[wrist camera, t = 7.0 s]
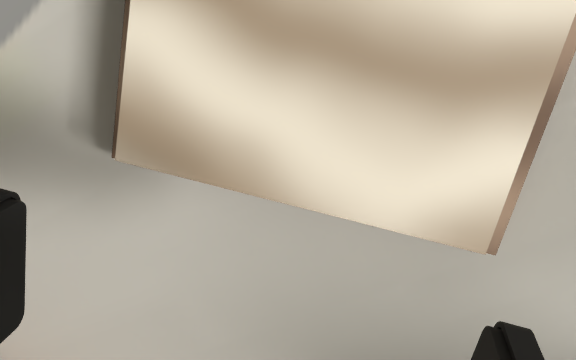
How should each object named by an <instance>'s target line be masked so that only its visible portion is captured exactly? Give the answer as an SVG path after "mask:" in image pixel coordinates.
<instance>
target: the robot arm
mask: <svg viewBox="0 0 576 360" xmlns="http://www.w3.org/2000/svg"><path fill="white" fill-rule="evenodd" d="M25 256H26V205H25V203H23V202H21V200H20V197H19V195H18V194H17V193H15V192H11V191H8V190H4V189H0V343H1V342H3V341H4V340H5V339H6V338H7V337H8V336H9V335H10V334H11V333H12V332H13V331H14V330H15V329H16V328H17V327H18V326H19V324H20V323H21V320H22V318H23V315H24V306H25ZM471 360H544V357H543V355H542V353H541V350H540V348H539V346H538V343H537V341H536V338H535V336H534V334H533V332H532V331H531V330H530V329H527V328H524V327H520V326H516V325H512V324H509V323H505V322H501V321H499V322H497V323H496V325H495V326H494V327H490V326H486V327H485V328H484V329H483V331H482V334H481V336H480V339H479V341H478V343H477V346H476V348H475V351H474V353H473V356H472V358H471Z"/></svg>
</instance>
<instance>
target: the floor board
mask: <svg viewBox="0 0 576 360" xmlns="http://www.w3.org/2000/svg"><path fill="white" fill-rule="evenodd" d="M129 11H130V0H125V10H124V21H123V33H122V44H121V56H120V67H119V79H118V91H117V102H116V114H115V125H114V137H113V148H112V158H115V154H116V143H117V133H118V123H119V113H120V103H121V92H122V82H123V72H124V62H125V51H126V41H127V31H128V21H129ZM575 51H576V14H575V17H574V20H573V22H572V25H571V28H570V30H569V33H568V36H567V38H566V41H565V44H564V46H563V49H562V52H561V54H560V57H559V60H558V62H557V65H556V68H555V70H554V73H553V76H552V78H551V81H550V84H549V86H548V89H547V92H546V94H545V97H544V100H543V102H542V105H541V108H540V110H539V113H538V116H537V118H536V121H535V124H534V126H533V129H532V132H531V134H530V137H529V140H528V142H527V145H526V148H525V150H524V153H523V156H522V158H521V161H520V164H519V166H518V169H517V172H516V174H515V177H514V180H513V182H512V185H511V188H510V190H509V193H508V196H507V198H506V201H505V204H504V206H503V209H502V212H501V215H500V217H499V220H498V223H497V225H496V228H495V231H494V233H493V236H492V239H491V241H490V244H489V247H488V249H487V252H486V253H488V254H492V255H496V253H497V251H498V248H499V245H500V243H501V240H502V238H503V235H504V233H505V230H506V228H507V225H508V222H509V220H510V217H511V215H512V212H513V210H514V207H515V204H516V202H517V199H518V197H519V194H520V192H521V189H522V187H523V184H524V181H525V179H526V176H527V174H528V171H529V169H530V166H531V163H532V161H533V158H534V156H535V153H536V151H537V148H538V146H539V143H540V140H541V138H542V135H543V133H544V130H545V128H546V125H547V122H548V120H549V117H550V115H551V112H552V110H553V107H554V104H555V102H556V99H557V97H558V94H559V92H560V89H561V87H562V84H563V81H564V79H565V76H566V74H567V71H568V69H569V66H570V63H571V61H572V58H573V56H574V53H575Z"/></svg>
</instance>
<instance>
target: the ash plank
mask: <svg viewBox="0 0 576 360" xmlns="http://www.w3.org/2000/svg"><path fill="white" fill-rule="evenodd" d="M575 14H576V0H130V11H129V21H128V31H127V41H126V51H125V62H124V72H123V82H122V92H121V103H120V113H119V123H118V133H117V143H116V154H115V160H116V161H120V162H123V163H127V164H131V165H135V166H139V167H143V168H147V169H151V170H155V171H159V172H163V173H167V174H171V175H175V176H178V177H182V178H186V179H190V180H194V181H198V182H202V183H206V184H210V185H214V186H218V187H222V188H226V189H230V190H233V191H237V192H241V193H245V194H249V195H253V196H257V197H261V198H265V199H269V200H273V201H277V202H281V203H284V204H288V205H292V206H296V207H300V208H304V209H308V210H312V211H316V212H320V213H324V214H328V215H332V216H336V217H339V218H343V219H347V220H351V221H355V222H359V223H363V224H367V225H371V226H375V227H379V228H383V229H387V230H391V231H394V232H398V233H402V234H406V235H410V236H414V237H418V238H422V239H426V240H430V241H434V242H438V243H442V244H446V245H449V246H453V247H457V248H461V249H465V250H469V251H473V252H477V253H481V254H485V255H486V252H487V249H488V247H489V244H490V241H491V239H492V236H493V233H494V231H495V228H496V225H497V223H498V220H499V217H500V215H501V212H502V209H503V206H504V204H505V201H506V198H507V196H508V193H509V190H510V188H511V185H512V182H513V180H514V177H515V174H516V172H517V169H518V166H519V164H520V161H521V158H522V156H523V153H524V150H525V148H526V145H527V142H528V140H529V137H530V134H531V132H532V129H533V126H534V124H535V121H536V118H537V116H538V113H539V110H540V108H541V105H542V102H543V100H544V97H545V94H546V92H547V89H548V86H549V84H550V81H551V78H552V76H553V73H554V70H555V68H556V65H557V62H558V60H559V57H560V54H561V52H562V49H563V46H564V44H565V41H566V38H567V36H568V33H569V30H570V28H571V25H572V22H573V20H574V17H575Z"/></svg>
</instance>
